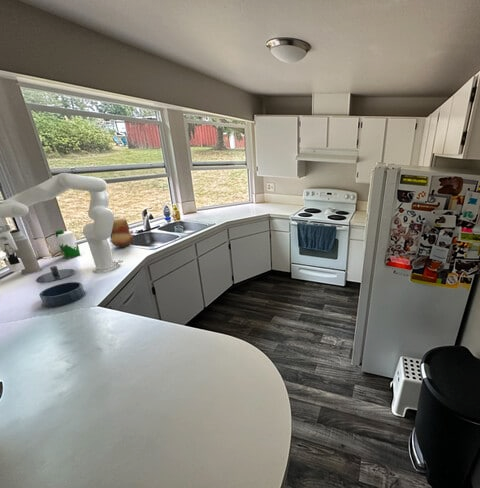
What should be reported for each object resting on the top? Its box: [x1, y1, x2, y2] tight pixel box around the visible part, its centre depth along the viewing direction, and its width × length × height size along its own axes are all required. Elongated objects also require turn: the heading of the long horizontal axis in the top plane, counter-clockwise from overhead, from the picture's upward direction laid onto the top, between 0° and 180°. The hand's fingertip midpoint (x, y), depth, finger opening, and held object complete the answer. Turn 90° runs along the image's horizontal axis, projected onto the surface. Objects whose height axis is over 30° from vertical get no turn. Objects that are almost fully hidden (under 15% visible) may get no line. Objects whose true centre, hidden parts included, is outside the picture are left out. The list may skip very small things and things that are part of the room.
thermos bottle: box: [10, 228, 41, 275], centre depth 156 cm, size 8×8×28 cm
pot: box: [38, 281, 86, 308], centre depth 132 cm, size 16×16×6 cm
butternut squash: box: [110, 215, 134, 248], centre depth 200 cm, size 14×13×25 cm
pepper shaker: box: [5, 254, 25, 273], centre depth 130 cm, size 4×4×10 cm
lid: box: [36, 265, 76, 283], centre depth 154 cm, size 17×17×7 cm
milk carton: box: [54, 229, 81, 259], centre depth 182 cm, size 9×9×20 cm
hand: (14, 262), depth 130 cm, fingers closed on pepper shaker, 5 cm apart
